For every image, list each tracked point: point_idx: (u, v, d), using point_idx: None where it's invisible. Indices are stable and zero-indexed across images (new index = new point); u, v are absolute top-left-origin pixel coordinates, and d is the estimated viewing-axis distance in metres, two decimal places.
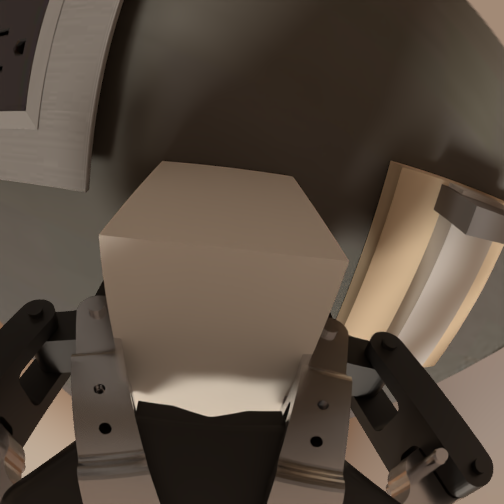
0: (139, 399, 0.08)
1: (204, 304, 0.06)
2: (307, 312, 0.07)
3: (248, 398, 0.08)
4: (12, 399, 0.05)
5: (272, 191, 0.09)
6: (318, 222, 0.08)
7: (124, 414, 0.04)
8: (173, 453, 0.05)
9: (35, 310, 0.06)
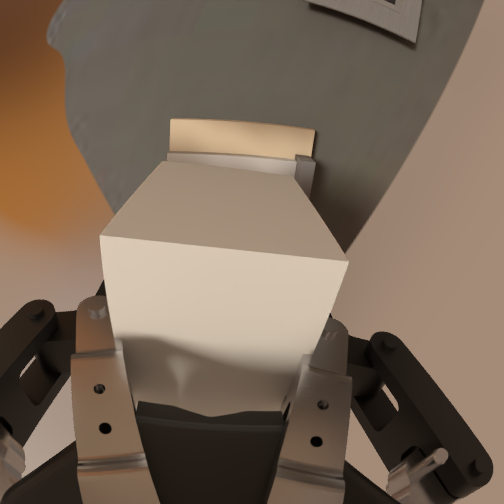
0: (139, 399, 0.08)
1: (205, 304, 0.06)
2: (307, 312, 0.07)
3: (248, 398, 0.08)
4: (12, 399, 0.05)
5: (272, 191, 0.09)
6: (318, 222, 0.08)
7: (124, 414, 0.04)
8: (173, 453, 0.05)
9: (35, 310, 0.06)
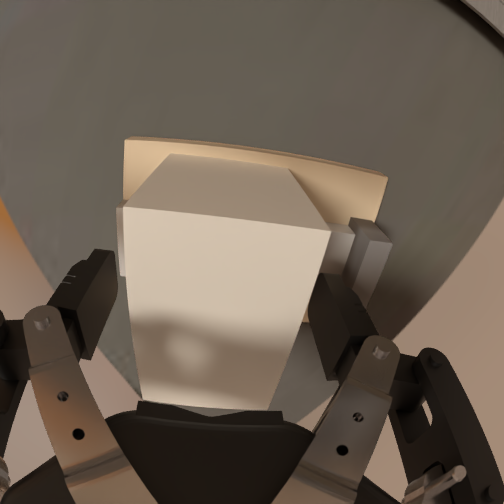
0: (146, 365, 0.09)
1: (210, 267, 0.08)
2: (297, 276, 0.08)
3: (245, 363, 0.09)
4: None
5: (268, 179, 0.10)
6: (307, 203, 0.09)
7: (92, 416, 0.04)
8: (173, 453, 0.05)
9: None
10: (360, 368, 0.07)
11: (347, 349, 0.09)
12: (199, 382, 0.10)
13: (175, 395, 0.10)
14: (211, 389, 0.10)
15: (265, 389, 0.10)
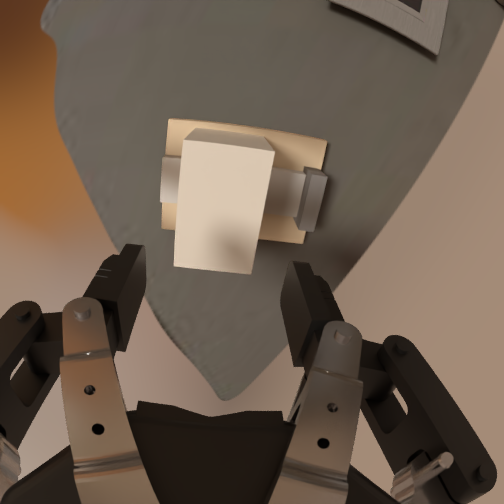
0: (181, 233, 0.18)
1: (220, 168, 0.16)
2: (260, 174, 0.16)
3: (237, 229, 0.18)
4: (4, 401, 0.05)
5: (250, 138, 0.19)
6: (267, 145, 0.17)
7: (116, 414, 0.04)
8: (173, 453, 0.05)
9: (22, 311, 0.06)
10: (324, 356, 0.07)
11: (310, 334, 0.09)
12: (210, 246, 0.18)
13: (195, 259, 0.19)
14: (216, 252, 0.19)
15: (248, 253, 0.19)
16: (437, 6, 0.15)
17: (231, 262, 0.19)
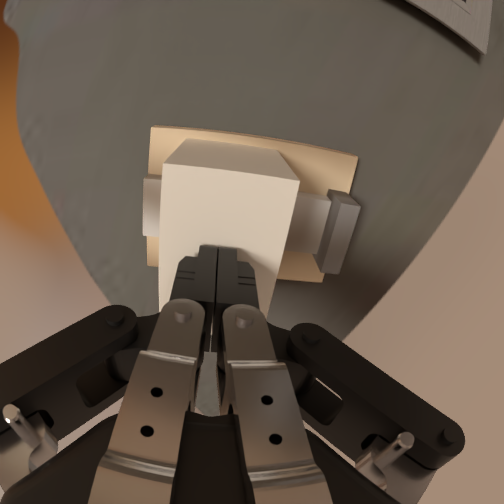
0: (166, 291, 0.13)
1: (218, 205, 0.11)
2: (278, 213, 0.11)
3: None
4: (62, 397, 0.06)
5: (260, 154, 0.14)
6: (286, 168, 0.12)
7: (172, 424, 0.05)
8: None
9: (114, 316, 0.07)
10: (235, 347, 0.07)
11: (219, 317, 0.09)
12: None
13: None
14: None
15: None
16: None
17: None
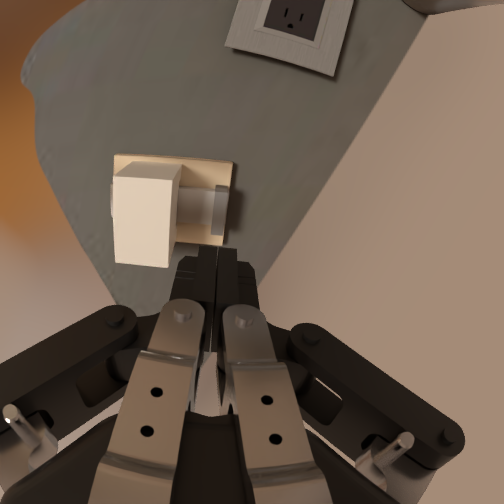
0: (117, 239, 0.25)
1: (137, 194, 0.23)
2: (164, 196, 0.23)
3: (153, 235, 0.25)
4: (62, 397, 0.06)
5: (167, 168, 0.26)
6: (173, 174, 0.24)
7: (172, 424, 0.05)
8: None
9: (114, 316, 0.07)
10: (235, 347, 0.07)
11: (219, 318, 0.09)
12: (137, 247, 0.25)
13: (128, 257, 0.26)
14: (142, 252, 0.25)
15: (164, 252, 0.26)
16: (334, 30, 0.22)
17: (153, 259, 0.26)
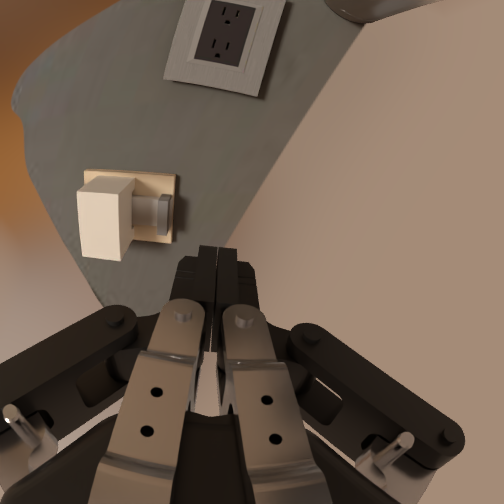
0: (83, 238, 0.30)
1: (94, 204, 0.29)
2: (113, 206, 0.29)
3: (108, 236, 0.31)
4: (62, 397, 0.06)
5: (120, 182, 0.32)
6: (122, 188, 0.30)
7: (172, 424, 0.05)
8: None
9: (114, 316, 0.07)
10: (234, 347, 0.07)
11: (219, 317, 0.09)
12: (97, 245, 0.31)
13: (91, 252, 0.31)
14: (101, 248, 0.31)
15: (116, 249, 0.31)
16: (259, 54, 0.27)
17: (109, 254, 0.32)
